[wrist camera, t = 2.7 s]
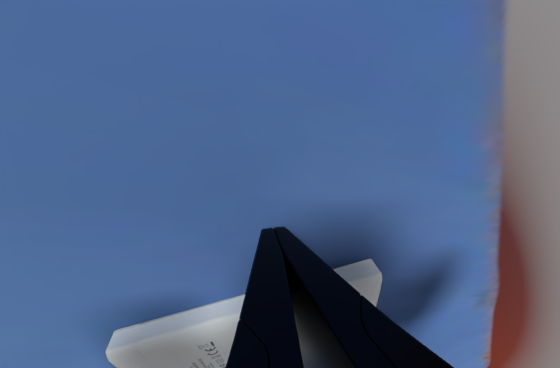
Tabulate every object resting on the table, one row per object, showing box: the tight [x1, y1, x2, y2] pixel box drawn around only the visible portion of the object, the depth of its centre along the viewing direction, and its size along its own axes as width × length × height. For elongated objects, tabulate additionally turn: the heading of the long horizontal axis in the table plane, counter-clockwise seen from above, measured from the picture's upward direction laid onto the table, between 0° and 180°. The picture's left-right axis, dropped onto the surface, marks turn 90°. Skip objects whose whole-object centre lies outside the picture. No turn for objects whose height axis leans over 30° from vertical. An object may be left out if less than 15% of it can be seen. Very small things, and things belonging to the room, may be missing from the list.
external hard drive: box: [106, 259, 382, 368], centre depth 12 cm, size 2×8×12 cm
